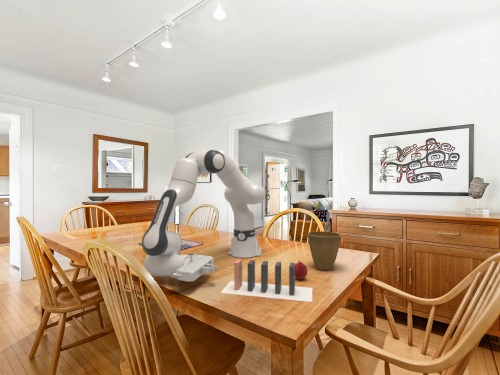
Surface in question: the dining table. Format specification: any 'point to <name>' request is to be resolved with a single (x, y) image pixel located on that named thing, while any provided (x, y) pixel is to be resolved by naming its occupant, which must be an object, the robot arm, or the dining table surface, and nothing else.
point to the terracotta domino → (238, 274)
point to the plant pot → (324, 248)
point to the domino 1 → (251, 275)
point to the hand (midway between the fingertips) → (215, 269)
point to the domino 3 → (278, 278)
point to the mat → (271, 292)
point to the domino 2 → (264, 276)
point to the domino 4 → (292, 279)
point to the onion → (300, 270)
